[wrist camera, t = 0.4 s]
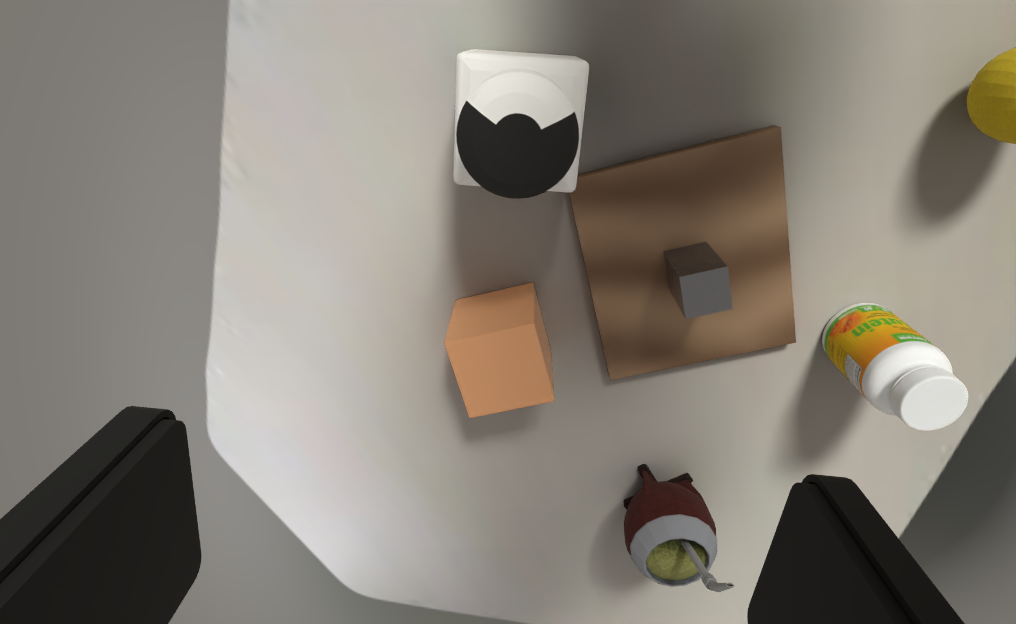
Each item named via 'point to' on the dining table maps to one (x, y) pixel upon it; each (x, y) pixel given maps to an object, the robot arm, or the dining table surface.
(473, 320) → the tan wooden cube
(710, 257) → the post
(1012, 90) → the lemon
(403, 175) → the dining table surface
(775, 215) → the base board
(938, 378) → the supplement bottle
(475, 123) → the medicine bottle
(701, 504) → the mate gourd
